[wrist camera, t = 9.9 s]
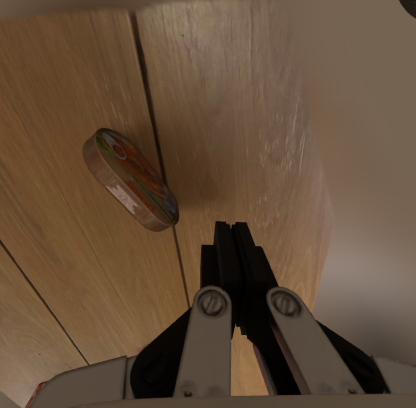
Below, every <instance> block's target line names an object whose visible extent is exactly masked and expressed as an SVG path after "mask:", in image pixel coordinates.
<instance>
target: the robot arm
mask: <svg viewBox="0 0 416 408" xmlns="http://www.w3.org/2000/svg"><path fill="white" fill-rule="evenodd" d="M235 323H236V326H237V327H240V329H241V335H247V339H249V340H250V341H251V342H252V343H253V349H254V353H255V355H256V358H257V361H258V364H259V367H260V370H261V373H262V376H263V379H264V382H265V385H266V387H267V390H268V393H269V396H231V339H232V338H233V333H234V328H235ZM30 408H416V365H413V364H410V363H406V362H402V361H397V360H394V359H390V358H385V357H381V356H378V355H373V354H372V355H371V356H370V357H369V356H367V355H366V354H365V353H364V352H363V351H361V350H360V349H358V348H357V347H356V346H354V345H353V344H351V343H350V342H348V341H346V340H345V339H344V338H342V337H341V336H339V335H338V334H336V333H335V332H333V331H332V330H330V329H329V328H327V327H326V326H324V325H323V324H321V323H320V322H318V321H317V320H315V319H314V317H313V315H312V314H311V312H310V311H309V309H308V308H307V306H306V305H305V304H304V302H303V301H302V299H301V298H300V297H299V296H298V295H297V294H296V293H295V292H293V291H291V290H289V289H287V288H284V287H279V286H278V283H277V281H276V279H275V276H274V274H273V272H272V269H271V267H270V265H269V262H268V260H267V258H266V255H265V253H264V251H263V249H262V247H261V246H255V243H254V241H253V238H252V236H251V233H250V230H249V228H248V225H247V223H246V222H236V223H235V225H233V224H232V227H231V228H230V225H229V224H226V222H221V221H216V223H215V233H214V243H213V245H202V246H201V267H200V290H198V292H197V293H196V294H195V296H194V299H193V304H192V307H191V308H190V309H188V310H187V311H186V312H185V313H184V314H183V315H182V316H181V317H179V318H178V319H177V320H176V321H175V322H174V323H173V324H171V325H170V326H169V327H168V328H167V329H166V330H165V331H164V332H162V333H161V334H160V335H159V336H158V337H157V338H156V339H155V340H153V341H152V342H151V343H150V344H149V345H148V346H147V347H146V348H144V349H143V350H142V351H141V352H140V354H139V355H136V356H132V357H128V358H127V355H125V356H122V357H118V358H114V359H110V360H107V361H103V362H99V363H95V364H91V365H88V366H84V367H80V368H76V369H73V370H69V371H65V372H63V373H61V374H58V375H56V376H55V377H53V378H52V379H51V380H49V381H48V382H47V383H46V384H45V385H44V386H43V387H42V388H41V390H40V391H39V392H38V393H37V395H36V397H35V399H34V401H33V402H32V404H31V407H30Z"/></svg>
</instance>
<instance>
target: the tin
mask: <svg viewBox="0 0 416 408" xmlns="http://www.w3.org/2000/svg"><path fill="white" fill-rule="evenodd" d="M83 158H84V161H85V163H86V165H87V167H88V169H89V170H90V172H91V173H92V175H93V176H94V177H95V178H96V179H97V180H98V181H99V182H100V183H101V184H102V185H103V186H104V187H105V188H106V190H107V191H108V192H109V193H110V194H111V195H112V196H113V197H114V198H115V199H116V200H117V201H118V202H119V203H120V204H121V205H122V206H123V207H124V208H125V209H126V210H127V211H128V212H129V213H130V214H131V215H132V216H133V217H134V218H135V219H136V220H137V221H138V222H139V223H140V224H141V225H142V226H144V227H145V228H147V229H149V230H151V231H155V232H160V231H163V230H165V229H167V228H169V227H171V226H174V225H176V224H177V223H178V221H179V210H178V206H177V203H176V200H175V198H174V196H173V195H172V193H171V191H170V190H169V189H168V187H167V186H166V185H165V184H164V182H163V181H162V180H161V179H160V177H159V176H158V175H157V174H156V172H155V171H154V170H153V169H152V167H151V166H150V165H149V164H148V162H147V161H146V160H145V159H144V157H143V156H142V155H141V154H140V153H139V151H138V150H137V149H136V148H135V147H134V145H133V144H132V143H131V142H129V141H128V140H127V139H126V138H125V137H124V136H122V135H121V134H119V133H118V132H116V131H114V130H111V129H108V128H101V129H98V130H97V131H96V133H95V134H94V135H93V136H91V137H90V138H89V139H88V140H87V141H86V142H85V144H84V146H83Z"/></svg>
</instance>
